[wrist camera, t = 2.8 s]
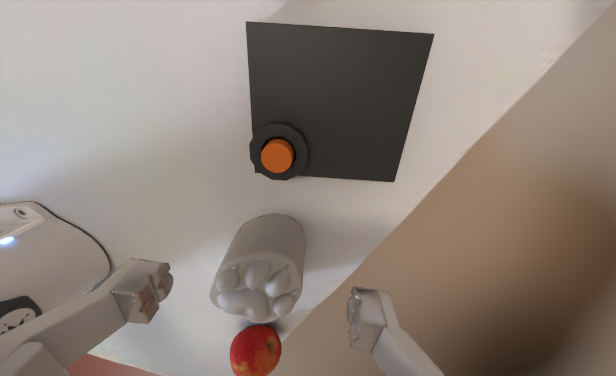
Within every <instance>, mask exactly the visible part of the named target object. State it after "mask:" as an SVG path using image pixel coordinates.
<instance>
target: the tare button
mask: <svg viewBox="0 0 616 376" xmlns="http://www.w3.org/2000/svg"><path fill="white" fill-rule="evenodd" d="M293 155H294V152H293V149H292V147H291V145H290V144H289V143H288V142H287V141H285V140H282V139H274V140H271V141H270V142H268V144H267V145H266V146H265V148H264V149H263V151H262V153H261V160H262V163H263V165H264V166H265V168H266V169H268V170H269V171H271V172H274V173H281V172H284V171H286V170H287V169H288V168H289V167H290V166H291V163H292V160H293Z"/></svg>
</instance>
